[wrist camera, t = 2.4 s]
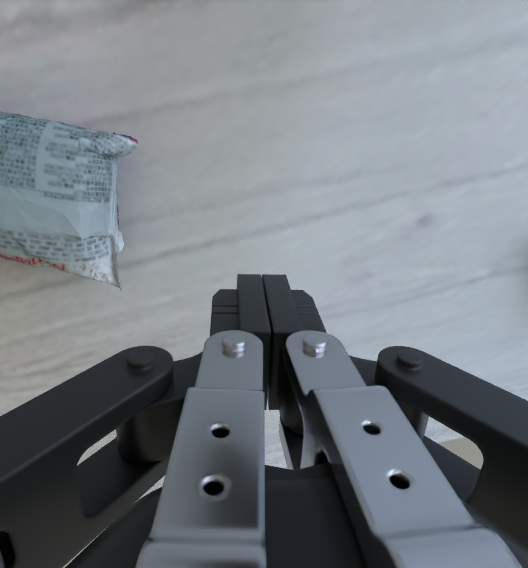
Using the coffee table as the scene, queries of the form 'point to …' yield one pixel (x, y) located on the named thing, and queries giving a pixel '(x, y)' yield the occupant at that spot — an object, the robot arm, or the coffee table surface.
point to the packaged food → (60, 196)
